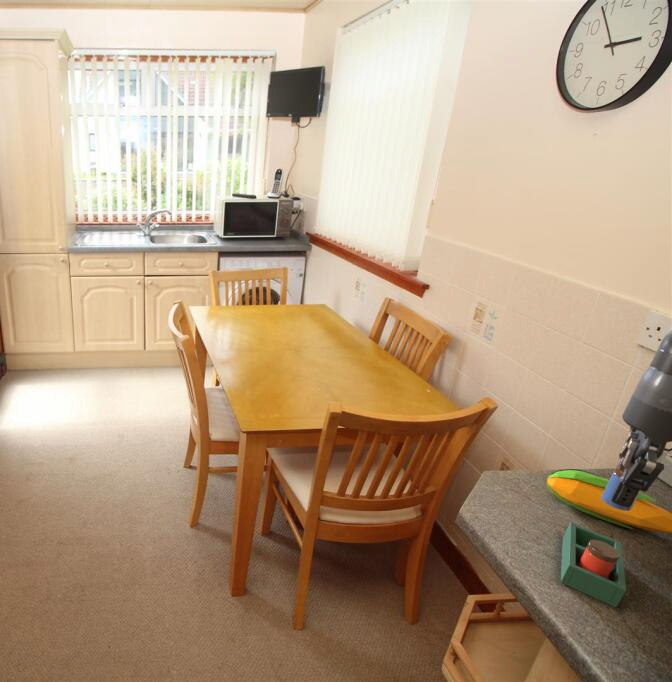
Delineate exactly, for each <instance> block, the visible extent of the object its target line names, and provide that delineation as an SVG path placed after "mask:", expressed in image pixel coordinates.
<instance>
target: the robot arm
mask: <svg viewBox="0 0 672 682" xmlns="http://www.w3.org/2000/svg"><path fill="white" fill-rule="evenodd" d="M639 378H640V379H639V380H638V383H637V385H636V386H635V387H634V388H635V389H634V391H633V393H632V395H631V397H630V400H629V401H628V403H627V405H626V407H625V409H624V411H623V413H622V416H621V418H622V420H623V422H624V423H625V424H626V425H627V426H629V431H628V433H627V436H626V439H625V441H624V443H623V446H622V448H621V451H620V452H619V453H618V459H619V461H618V462H617V465H619V464H623V466H624V468H625V470H624V472H623V474H622V477H620V482H619V484H618V486H617V488H616V490H615V491H614V493H613V495H612V497H611V498H612V502H613V503H615V504H618V505H621V506H624V507H627V508H628V507H631V505H632V503H633V502H634V500H635V498H636V496H637V494H638V492H639V491H640V490H641V492H642V493H643V492H644V493H646V492H647V491H648V490H649V489H650V487H651V486H652V485H653V483H654V482H655V481H656V480H657V478H658V477H659V475H660V474H661V473H662V471H664V470H665V464H664V463H662V461H664V460H666V458H667V456H668V454H669V450H670V449H669V448H667V447H666V446H667V444H668V443H671V442H672V329H671V330H669V331H668V332H667V333H666V334H665V335H664V336H663V338H662V339H661V341H660V343H659V345H658V347H657V349H656V351H655V353H654V355H653V358H652V359H651V361H650V363H649V364H648V367H647V368H646V369H645V371H644V372H643V374H642V375H641V377H639ZM634 478H637V479H640V480H637V479H634Z"/></svg>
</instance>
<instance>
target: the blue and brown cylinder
mask: <svg viewBox="0 0 672 682" xmlns="http://www.w3.org/2000/svg"><path fill="white" fill-rule="evenodd" d="M624 470H625V468H624V466H623V464H619V465H618V464H617V465H616V466H615V468H614V470H613V471H612V474H611V476H610V478H609V479H608V480H609V482H608V484H607V486H606V488H605V490H604V492H603V494H602V496H601V498H602V500H603V501H604V502H605V503H607V504H608V505H610V506H612V507H614V508H617V509H620V510H624V511H629V510H631V509H632V507H633V505H634V503H635V501H636V499H637V498H638V496H639V494H640V492H641V493H642V491H641V490H640V491H639V492H638V494H637V496H636V498H635V500H634V502H633V503H632V505H631V507H628V508H627V507H624V506H621V505H618V504H615V503H613V502H612V498H611V497H612V495H613V493H614V491H615V490H616V488H617V486H618V484H619V482H620V477H622V474H623V472H624ZM634 479H637V478H634ZM637 480H640V479H637Z"/></svg>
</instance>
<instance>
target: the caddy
mask: <svg viewBox="0 0 672 682" xmlns="http://www.w3.org/2000/svg"><path fill="white" fill-rule="evenodd" d="M591 540H599V541H602V542H605V543H607V544H609V545H611V546H612V547H614V548H615V549H616V550H617V551H618V552H619V554H620V557H619V559H618V561H617V563H616V564H615V566H614V568H613V570H612V572H611V573H610V575H609V577H608V579H606V578H604V577H601V576H599V575H597V574H595V573H592V572H590V571H588V570H585V569H583V568H581V567H578V566H577V565H578V563H579V561H580V559H581V557H582V555H583V553H584V551H585V549H586V547H587V545H588V543H589V541H591ZM560 569H561V570H560V583H561V584H563V585H566V586H568V587H570V588H572V589H575V590H576V591H579V592H580V593H583V594H585V595H587V596H590V597H592V598H593V599H596V600H598V601H600V602H603V603H605V604H607V605H609V606H611V607H613V608H617V607H618V605H619V603H620V602H621V600H622V599H623V597H624V595H625V594H626V592H627V584H626V575H625V567H624V556H623V547H622V541H619V540H617V539H614V538H612V537H609V536H607V535H604V534H602V533H599V532H596V531H594V530H591V529H589V528H587V527H583V526H581V525H579V524H576V523H574V522H571V521H570V522H569V524H568V526H567V528H566V531H565V532H564V534H563V537H562V545H561V567H560Z"/></svg>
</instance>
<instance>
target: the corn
mask: <svg viewBox="0 0 672 682" xmlns="http://www.w3.org/2000/svg"><path fill="white" fill-rule="evenodd" d="M609 480H610V479H608V478H605V477H604V476H601V475H599V474H596V473H593V472H589V471H586V470H582V469H575V468H567V469H557V470H556V471H554V472H551V473H550V474H548V476H547V479H546V485H547V488H548V489H549V491H550V492H551V494H553V495H554V496H555V497H556V498H558V499H559V500H560V501H562V502H563V503H565V504H566V505H568V506H571V507H573V508H574V509H576V510H578V511H580V512H582V513H584V514H588V515H589V516H592V517H595V518H598V519H600V520H603V521H605V522H607V523H612V524H615V525H617V526H620V527H623V528H626V529H629V530H633V531H634V528H632V527H635V528H637V529H641V530H646V531H649V532H658V533H663V534H664V533H666V534H672V512H670V511H668V510H666V509H664V508H662V507H660V506H658V505H655V504H654V503H656V502H657V500H656V499H655V498H653V497H651V496H649V495H647V494H645V493H643V492H642V491H641V492H640V494H639V496H638V498H637V499H636V501H635V503H634V505H633V507H632V509H631V510H629V511H624V510H620V509H617V508H614V507H612V506H610V505H608V504H607V503H605V502H604V501H603V500H602V498H601V496H602V494H603V492H604V490H605V488H606V486H607V484H608V482H609Z"/></svg>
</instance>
